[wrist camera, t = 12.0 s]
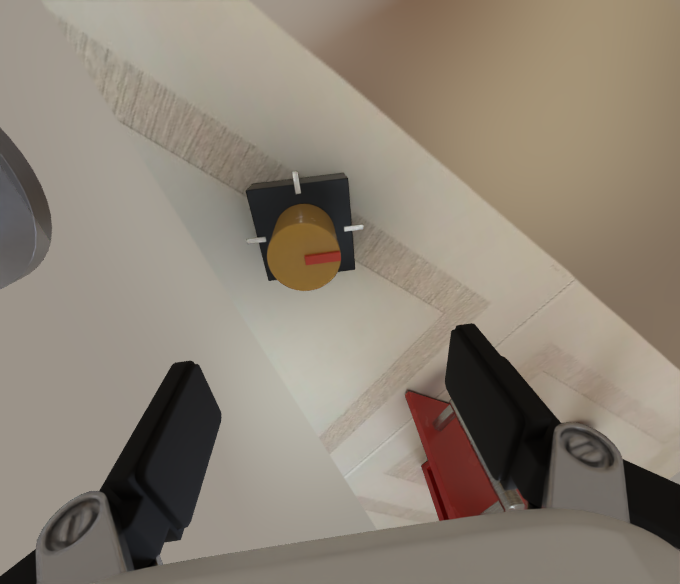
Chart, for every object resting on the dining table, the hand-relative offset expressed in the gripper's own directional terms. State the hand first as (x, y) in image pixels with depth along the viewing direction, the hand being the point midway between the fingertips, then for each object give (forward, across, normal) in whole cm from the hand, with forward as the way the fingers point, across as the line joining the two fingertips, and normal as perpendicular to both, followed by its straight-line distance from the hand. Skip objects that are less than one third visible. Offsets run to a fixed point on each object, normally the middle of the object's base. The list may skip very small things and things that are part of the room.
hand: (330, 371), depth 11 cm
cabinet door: (+15, -14, +22) cm, 30 cm away
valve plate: (+15, +1, -1) cm, 15 cm away
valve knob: (+13, +1, -1) cm, 13 cm away
